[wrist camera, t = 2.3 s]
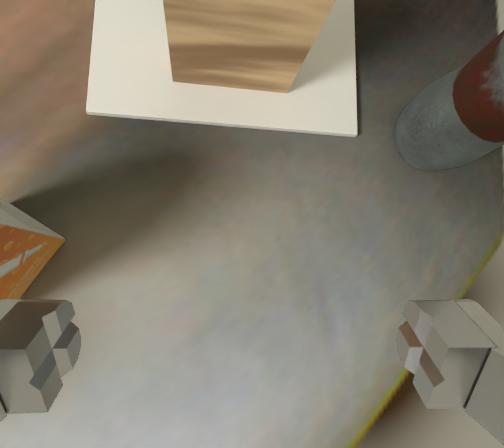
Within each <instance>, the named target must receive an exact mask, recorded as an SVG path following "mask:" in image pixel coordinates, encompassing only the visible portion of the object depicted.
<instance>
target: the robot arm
mask: <svg viewBox="0 0 504 448" xmlns="http://www.w3.org/2000/svg"><path fill="white" fill-rule="evenodd" d="M402 314H403V315H404V317H405V319H406V320H407V321H406V322H404V323H403V324H402V325H401V326H400V327H399V328H398V333H397V337H396V341H397V351H398V354H399V357H400V360H401V361H402V363H403V365H404V367H405V368H406V369H408V370H409V371H411V372H412V373H413V374H415V376H414V380H413V384H414V386H415V388H416V390H417V391H418V393H419V395H420V397H421V399H422V401H423V402H424V404H425V406H426V408H427V409H465V412H466V413H467V414H468V415H470V416H471V417H472V418H473V419H474V420H475V421H476V422H478V423H479V424H480V425H481V426H482V427H483V428H485V429H486V430H487V431H488V432H489V433H490V434H492V435H493V436H494V437H495V438H496V439H497V440H499V441H500V442H501V443H502V444H503V445H504V329H503V328H502V327H501V326H500V325H499V324H498V323H497V322H496V321H495V320H494V319H493V318H492V317H491V316H490V315H489V314H488V313H487V312H486V311H485V310H484V309H483V308H482V307H481V306H480V305H479V304H478V303H477V302H475V301H473V300H471V299H454V300H408V302H407V303H406V304H405V306H404V310H403V313H402ZM74 315H75V312H74V309H73V306H72V303H71V302H69V301H67V300H40V299H24V300H22V299H2V300H0V421H1V420H3V419H4V418H5V417H6V416H7V415H6V414H16V413H42V412H48V411H49V409H50V407H51V405H52V404H53V402H54V400H55V398H56V397H57V395H58V393H59V391H60V390H61V388H62V386H63V384H62V380H61V377H62V376H63V375H64V374H66V373H67V372H69V371H70V370H71V369H72V368H73V366H74V364H75V363H76V361H77V359H78V355H79V351H80V347H81V336H80V332H79V328H78V327H77V326H75V325H74V324H73V323H72V322H71V319H72V318H73V316H74Z"/></svg>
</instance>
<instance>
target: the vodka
mask: <svg viewBox="0 0 504 448" xmlns="http://www.w3.org/2000/svg"><path fill="white" fill-rule="evenodd" d="M394 137H395V143H396V146H397V148H398V150H399V152H400V154H401V156H402V157H403V158H404V159H405V160H406V161H407V163H409V164H410V165H412V166H414V167H415V168H417V169H421V170H425V171H439V170H448V169H452V168H456V167H461V166H465V165H467V164H469V163H471V162H473V161H475V160H477V159H478V158H480V157H482V156H484V155H486V154H488V153H489V152H491V151H493V150H495V149H497V148H498V147H500V146H502V145H503V144H504V31H503V32H502V33H500V34H499V35H498V36H497V37H496V38H495V39H493V40H492V41H491V42H490V43H489V44H488V45H487V46H485V47H484V48H483V49H482V50H481V51H480V52H479V53H477V54H476V55H475V56H474V57H473V58H472V59H471V60H469V61H468V62H467V63H466V64H464V65H462V66H460V67H459V68H457V69H455V70H453V71H451V72H449V73H448V74H446V75H444V76H442V77H440V78H439V79H437V80H435V81H434V82H432V83H430V84H429V85H427V86H425V87H424V88H423V89H422V90H421V91H420V92H419V93H418V94H417V95H416V96H415V97H414V98H413V99H412V100H411V101H410V103H409V104H408V105H407V106H406V107H405V108H404V109H403V111H402V112H401V114H400V116H399V118H398V120H397V122H396V124H395V131H394Z"/></svg>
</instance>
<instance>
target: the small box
mask: <svg viewBox="0 0 504 448" xmlns="http://www.w3.org/2000/svg"><path fill="white" fill-rule="evenodd" d="M64 241H65V238H63V237H62V236H60V235H59V234H57V233H56V232H54V231H52V230H51V229H49V228H48V227H46V226H45V225H43V224H41V223H40V222H38V221H37V220H35V219H34V218H32V217H30V216H29V215H27V214H26V213H24V212H23V211H21V210H19V209H18V208H16V207H15V206H13V205H12V204H10V203H8V202H6V201H3V200H1V199H0V300H2V299H20V298H21V297H22V295H23V294H24V293H25V291H26V290H27V289H28V287H29V286H30V285H31V283H32V282H33V281H34V279H35V278H36V277H37V275H38V274H39V273H40V272H41V270H42V269H43V268H44V266H45V265H46V264H47V263H48V261H49V260H50V259H51V258H52V256H53V255H54V254H55V252H56V251H57V250H58V249H59V248H60V246H61V245H62V244H63V243H64Z"/></svg>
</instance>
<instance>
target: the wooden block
mask: <svg viewBox="0 0 504 448" xmlns="http://www.w3.org/2000/svg"><path fill="white" fill-rule="evenodd" d="M335 1H336V0H163V6H164V14H165V22H166V30H167V38H168V47H169V55H170V63H171V71H172V79H173V82H181V83H190V84H200V85H210V86H219V87H229V88H239V89H248V90H258V91H268V92H277V93H287V92H288V91H289V89H290V87H291V85H292V83H293V81H294V79H295V77H296V75H297V73H298V71H299V70H300V68H301V66H302V64H303V62H304V60H305V58H306V56H307V54H308V52H309V50H310V49H311V47H312V45H313V43H314V41H315V39H316V37H317V35H318V33H319V31H320V29H321V28H322V26H323V24H324V22H325V20H326V18H327V16H328V14H329V12H330V10H331V8H332V7H333V5H334V3H335Z"/></svg>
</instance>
